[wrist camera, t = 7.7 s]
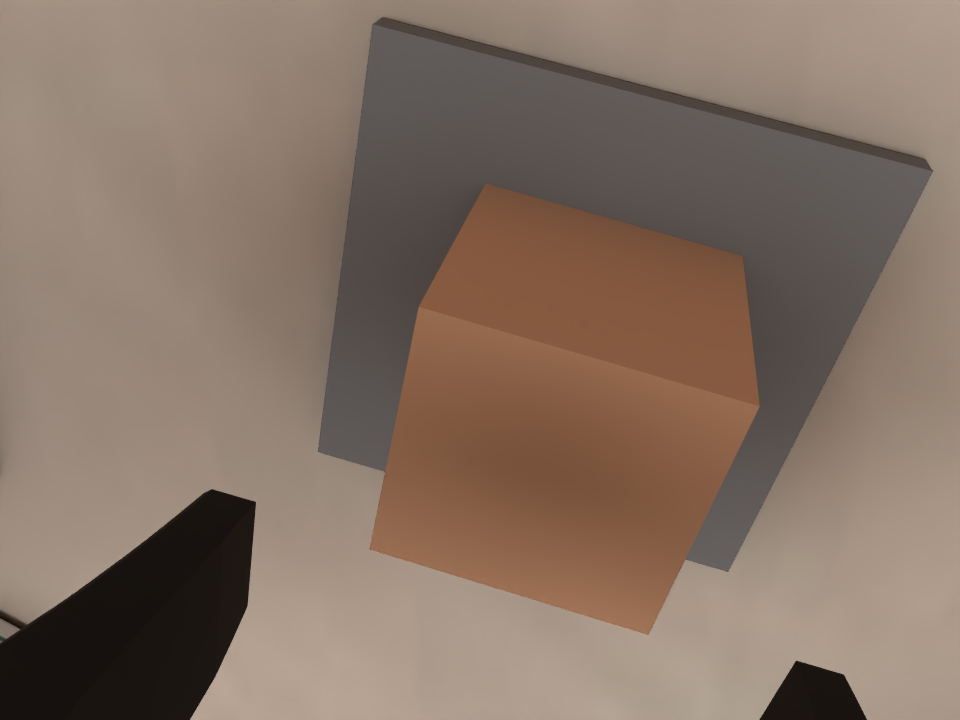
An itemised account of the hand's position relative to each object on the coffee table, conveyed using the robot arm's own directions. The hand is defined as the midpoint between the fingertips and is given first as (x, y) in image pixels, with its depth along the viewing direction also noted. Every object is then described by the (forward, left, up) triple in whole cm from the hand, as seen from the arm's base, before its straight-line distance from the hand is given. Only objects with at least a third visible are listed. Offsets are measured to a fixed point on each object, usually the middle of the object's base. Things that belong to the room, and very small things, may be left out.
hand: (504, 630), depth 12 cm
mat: (0, 0, -8) cm, 8 cm away
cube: (0, 0, -8) cm, 8 cm away
